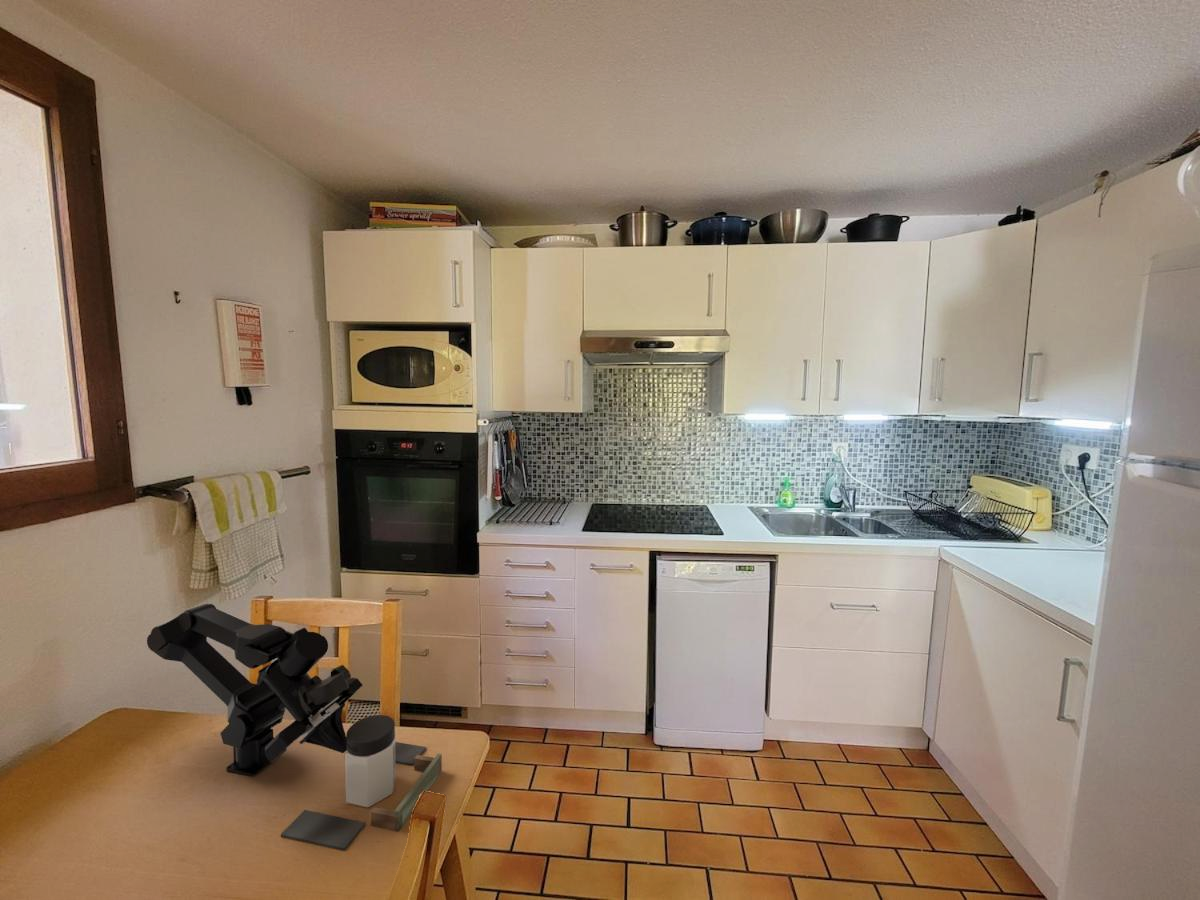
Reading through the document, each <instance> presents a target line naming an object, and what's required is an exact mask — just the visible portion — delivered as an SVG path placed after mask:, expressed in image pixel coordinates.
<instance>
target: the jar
mask: <svg viewBox="0 0 1200 900" xmlns="http://www.w3.org/2000/svg"><path fill="white" fill-rule="evenodd" d="M345 735H346V746H347V750H346V751H345V752H344V753H345V754H344V756H345V757H344V760H345V761H344V763H345V764H344V766H345V768H344V769H345V771H344V772H345V803H346V804H351V805H356V806H360V807H364V808H369V807H371V806H373V805H375V804H377V803H378V802H380V801H382V800H384V799H385V798H387V797H389V796H391V795H392V794H393V793H394V789H395V783H396V782H395V781H396V776H397V775H396V774H397V773H396V769H397V768H396V764H397V763H396V755H395V742H396V723H395V720H394V718H392V717H391V716H388V715H385V714H375V715H370V716H366V717H363V718H361V719H359V720H357V721H355V722H353V724H352V725H351V726H350V727H349V728H348V729H347V730H346V733H345Z"/></svg>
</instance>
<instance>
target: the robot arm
mask: <svg viewBox="0 0 1200 900" xmlns="http://www.w3.org/2000/svg"><path fill="white" fill-rule="evenodd" d="M208 639H211V640H213V641H215V642H217V643H220V644H221V645H223V646H226V647H228V648H230V649H232V650H233V651H234V658H235V659H236V660H237V661H238V662H240V663H241V664H243V666H245V667H246V668H249V669H251V670H252V669H253V670H254V669H256V668H259V667H261V666H263V665H265V667H263V668H261V669H259V670H258V671H257V673H258V676H257V679H256V683H253V682H251V681H250V680H249V679H248V678H247V677H246V676H245V675H243V674H242V673H241V672H240V671H239V670H238V669H237V668H236V667H235V666H234V665H233V664H232V663H231V662H230V661H229V660H227V659H226V658H225V657H224V656H223V654H221V653H220V652H219V651H218V650H217V649H216V648H215V647H213V645H211V643H209V641H208ZM146 645H147V647H148V648H149V650H150V651H152V652H154V653H155V654H156V655H157V656H159V657H160V658H162V659H163V660H166V661H172V662H179V663H182V664H184V665H185V667H186V668H188V669H189V671H191V673H193V675H195V676H196V677H197V678H198V679H199V680H200V682H202V683H203V684H204V685H205V686H206V687H207V688H208V689H209V690H210V691H211V692H212V693H214V695H215V696H216V697H217V698H218V699H220V700H221V701H222V703H224V705H226V707H227V723H228V724H227V726H226V727H224V729H222V731H221V732H220V736H221V737H220V738H221V740H222V743H223V744H224V745H227V746H231V747H232V750H233V751H232V753H233V755H232V756H233V762H231V763H230V764H229V765H228V766H226V770H225V771H226V772H230V773H234V774H235V773H236V774H242V775H246V776H250V777H252V776H255V775H256V774H258V773H259V772H260V771H262V770H263V769H264V768H265V767H267V765H268V764H270V763H273V762H274V761H275V760H277V759H278V758H279V757H281V756H282V754H284V753H286V751H287V748H288V747H289V746H290V745H291V744H293V743H294V742H295V741H296V740H297V739H299V738H300V737H301V738H302V739H301V740H300V741H299V742H298V743H299V744H300V745H303V744H304V743H306V744H307V743H308V744H312V745H316V746H320V747H323V748H326V749H329V750H332V751H336V752H338V753H340V754H344V753H346V750H347V746H346V732H345V729H344V725H343V719H342V716H343V709H344V708H345V707H346V702H347V701H348V700H350V699H351V698H352V697H353V696H354V695H355V693H357V692H358V691H359V690H360V689H361V688H363V686H364V685H363V683H362V682H361V681H360V680H359V679H358V678H356V677H352V676H351V675H352V674H351V673H350V670H349V669H348V668H346V666H345V665H344V664H341V665H338V666H337V667H335V668H334V669H332V670H331V671H330V675H329V676H328V677H326V678H325V679H321V677H320V676H318V675H314V676H312V677H311V676H310V675H309V674H308V673H309V672H310V671H311V670H312V669H313V668H314V667H315V666H316V665H317V663H319V661H320V660H321V659H322V658H323V657H324V656H325V655H326V654H327V652H328V650H329V643H328V640H327V638H326V636H324V635H323V634H320V633H318V632H315V631H308V630H307V628H306V627H302V628H300V629H297V630H296V631H294V633H293V632H291V631H288V630H286V629H284V628H283V627H282V626H279V625H275V624H274V625H273V624H269V623H268V624H267V623H264V624H252V623H249V622H247V621H245V620H243V619H240V618H238V617H236V616H234V615H231V614H229V613H227V612H225V611H222V610H220V609H218V608H216V606H215V605H214V604H213V603H205V604H201V605H198V606H195V607H193V608H190V609H187V610H184V612H181V613H180V614H179V615H178V616H176V617H174V618H173V619H171V620H169V621H168V622H165V623H163V624H159V625H157V626H154V627H153V628H152V629H151V631H150V634H149V635H148V636H147V638H146ZM268 663H270V664H268ZM266 664H267V665H266ZM286 710H287V712H289V715H291V716H292V718H293V719H294V721H293V722H291V723H290V724H288V726H286V727H284V729H282V730H281V731H280V732H279V733H278V734H277V735H275V737H274V727H276V726H277V725H278V724H280V723H282V722H283V718H284V715H285V712H286Z"/></svg>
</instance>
